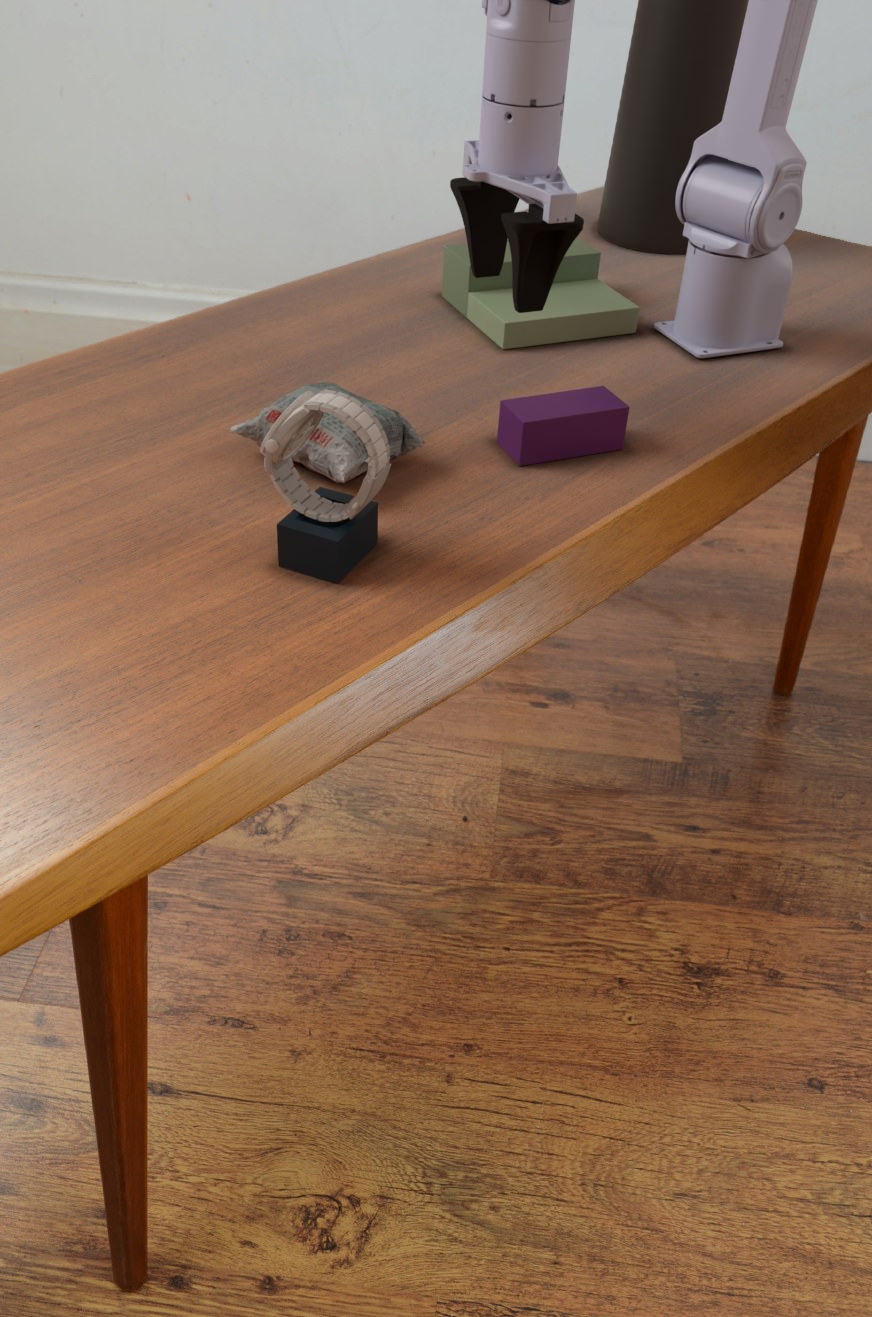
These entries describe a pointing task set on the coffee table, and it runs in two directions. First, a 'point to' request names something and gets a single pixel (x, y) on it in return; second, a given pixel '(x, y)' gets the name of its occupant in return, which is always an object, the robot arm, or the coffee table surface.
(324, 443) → the packaged food
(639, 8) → the vase
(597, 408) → the purple rectangular block
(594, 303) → the step shelf
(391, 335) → the coffee table surface
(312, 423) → the watch
